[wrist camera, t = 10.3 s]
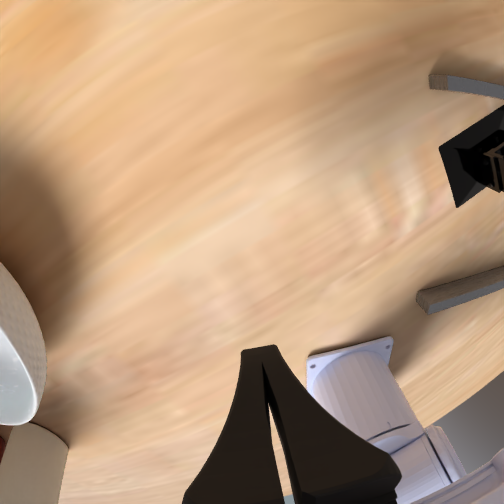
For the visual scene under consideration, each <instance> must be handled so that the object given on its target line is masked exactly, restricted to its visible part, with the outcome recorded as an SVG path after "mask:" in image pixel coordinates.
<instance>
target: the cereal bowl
mask: <svg viewBox="0 0 504 504" xmlns="http://www.w3.org/2000/svg"><path fill="white" fill-rule="evenodd" d="M46 376H47V357H46V349H45V341H44V340H43V336H42V331H41V329H40V327H39V323H38V321H37V319H36V316H35V314H34V311H33V309H32V307H31V305H30V303H29V301H28V299H27V298H26V296H25V293H24V292H23V291H22V290H21V288H20V286H19V284H18V283H17V282H16V281H15V279H14V278H13V277H12V275H11V274H10V273H9V272H8V270H7V269H6V268H5V267H4V265H3V264H2V263H1V262H0V424H2V425H21V424H24V423H27V422H28V421H30V420H31V419H32V418H33V417H34V415H35V414H36V412H37V410H38V408H39V404H40V401H41V399H42V394H43V392H44V386H45V383H46V381H45V380H46Z"/></svg>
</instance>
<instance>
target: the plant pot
mask: <svg viewBox="0 0 504 504" xmlns="http://www.w3.org/2000/svg"><path fill="white" fill-rule="evenodd" d="M4 451H5V443H4V440H3V439H2V438H1V437H0V464H1V461H2V458H3V454H4Z"/></svg>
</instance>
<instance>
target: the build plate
mask: <svg viewBox="0 0 504 504" xmlns="http://www.w3.org/2000/svg"><path fill="white" fill-rule="evenodd" d="M439 152H440V154H441V157H442V161H443V164H444V167H445V170H446V173H447V176H448V180H449V183H450V187H451V190H452V194H453V197H454V201H455V205H456V208H458V207H460V206H461V205H462V204H464V203H465V202H466V201H468V200H469V199H471V198H472V197H473V196H475V195H476V194H477V193H479V192H480V191H481V190H483V189H484V188H485V187H488V188H490V189H492V190H495V191H497V192H499V193H500V192H501V191H503V192H504V105H503V106H501V107H500V108H498V109H497V110H495V111H493V112H492V113H490V114H489V115H487V116H486V117H484V118H483V119H481V120H480V121H478V122H477V123H475V124H473V125H472V126H470V127H469V128H467V129H466V130H464V131H463V132H461V133H460V134H458V135H456V136H455V137H453V138H452V139H450V140H449V141H447V142H446V143H444V144H442V145H441V146H440V147H439Z"/></svg>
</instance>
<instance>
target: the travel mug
mask: <svg viewBox="0 0 504 504" xmlns="http://www.w3.org/2000/svg"><path fill="white" fill-rule="evenodd" d="M67 455H68V447H67V446H66V444H65V443H64V442H63V441H62V440H61V439H60V438H58V437H57V436H56V435H55V434H53V433H52V432H50V431H49V430H47V429H45V428H43V427H41V426H39V425H36V424H32V423H29V422H27V423H24V424H21V425H14V426H13V428H12V431H11V434H10V437H9V440H8V442H7V445H6V448H5V451H4V454H3V458H2V461H1V464H0V504H58V500H59V494H60V489H61V484H62V479H63V474H64V469H65V464H66V460H67Z"/></svg>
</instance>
